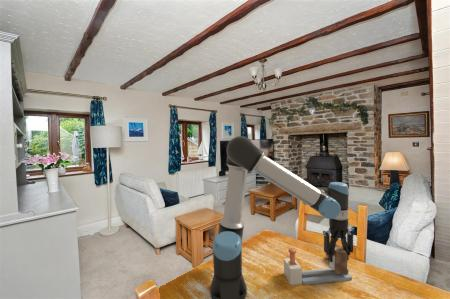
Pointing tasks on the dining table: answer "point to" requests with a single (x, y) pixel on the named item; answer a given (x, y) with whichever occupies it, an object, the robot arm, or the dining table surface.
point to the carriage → (340, 260)
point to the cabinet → (293, 272)
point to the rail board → (323, 276)
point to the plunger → (292, 255)
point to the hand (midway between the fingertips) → (338, 267)
